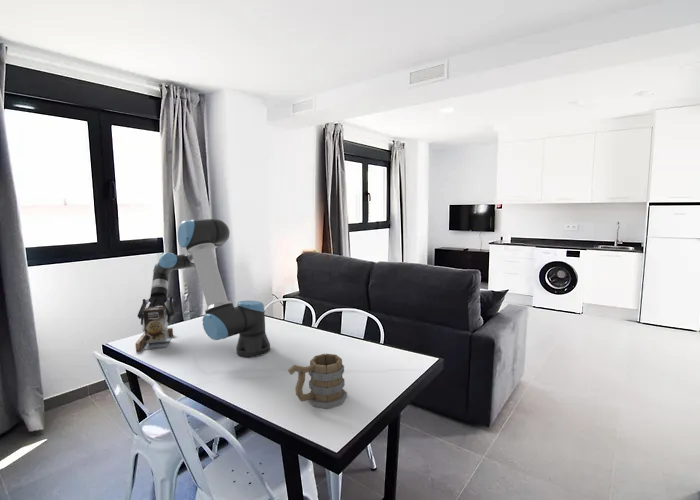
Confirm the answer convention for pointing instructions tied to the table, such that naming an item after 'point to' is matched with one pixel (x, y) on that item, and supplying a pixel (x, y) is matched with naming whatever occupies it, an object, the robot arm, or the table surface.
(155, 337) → the coffee box
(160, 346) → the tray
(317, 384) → the tankard
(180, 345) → the table surface
